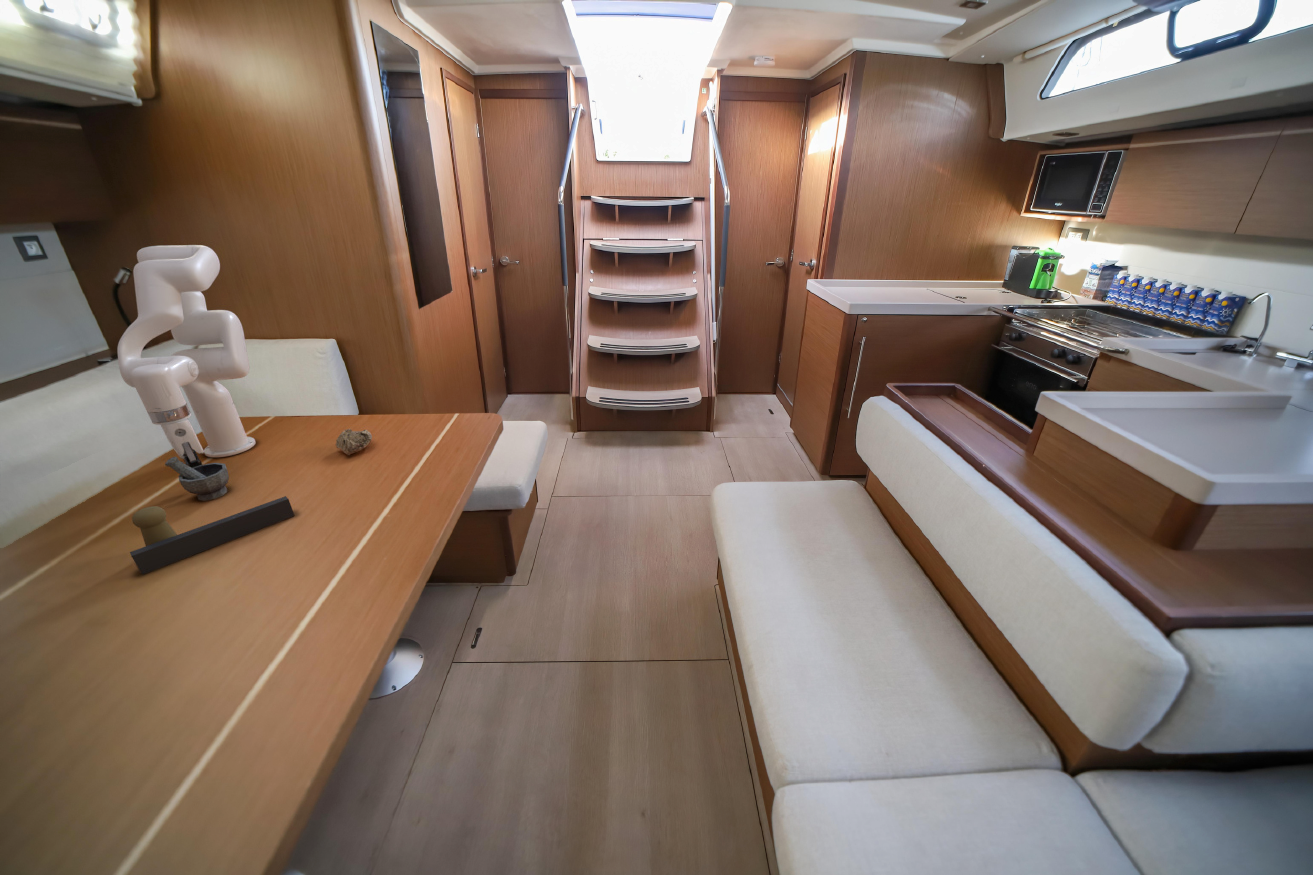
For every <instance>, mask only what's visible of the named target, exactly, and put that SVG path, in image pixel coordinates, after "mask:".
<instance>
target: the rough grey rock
mask: <svg viewBox="0 0 1313 875" xmlns="http://www.w3.org/2000/svg"><path fill="white" fill-rule="evenodd" d="M372 439H373V434H372V433H371V432H370V431H369V430H368V429H363V430H352V429H351V428H348V429H345V430H343V431H342V432H341V433H340V434H339V435H338V437H337V439H336V440H335V442H336V443H335V446H336V448H337V449H338V450H340V451H342V453H344V454H346V455H347V456H351V455H353V454H355V453H357V452H359V451H362V450H363V449H365V448H366V447H367V446H368V445H370V443H371V442H372Z"/></svg>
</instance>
